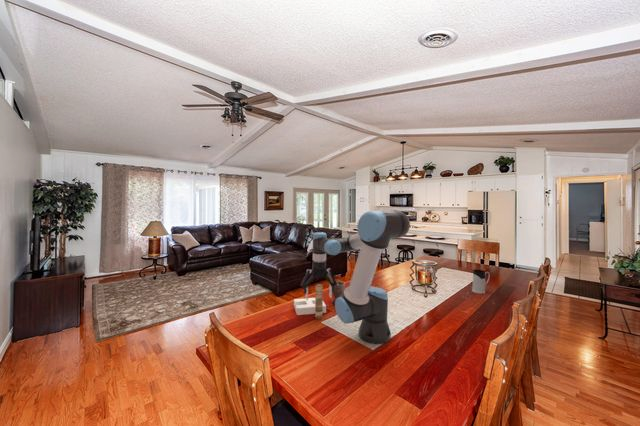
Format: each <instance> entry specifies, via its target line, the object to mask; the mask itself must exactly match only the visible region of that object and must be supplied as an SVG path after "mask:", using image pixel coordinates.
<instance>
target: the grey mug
mask: <svg viewBox="0 0 640 426" xmlns="http://www.w3.org/2000/svg"><path fill="white" fill-rule="evenodd" d="M487 273H488V278H487V281H486V276H487V275H486V274H487ZM490 274H491V273H490V272H489V271H485V270H481V269H473V273H472V288H471V292H473V293H475V294H482V293H483V294H486V293H485V292H486V285H487V284H488V283H489V281H490V279H491V278H490V277H491V275H490Z"/></svg>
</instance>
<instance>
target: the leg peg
mask: <svg viewBox="0 0 640 426" xmlns="http://www.w3.org/2000/svg"><path fill="white" fill-rule="evenodd" d="M323 289H324V285H323V284H315V297H314V298H315V315H314V316H315V319H317V320H318V319H319V320H321V319H322V318H323V313H322V310H323V302H324V299H323V295H324V293H323V292H324V290H323Z"/></svg>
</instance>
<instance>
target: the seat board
mask: <svg viewBox="0 0 640 426" xmlns="http://www.w3.org/2000/svg"><path fill="white" fill-rule="evenodd" d="M293 307H294V310H295V313H296V315H297V316H303V315H314V314H315V297H308V300H306V297H305V298H294V299H293ZM326 313H327V305H326V303H325V302H324V301H323V310H322V314H326Z"/></svg>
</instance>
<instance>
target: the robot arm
mask: <svg viewBox="0 0 640 426" xmlns="http://www.w3.org/2000/svg"><path fill="white" fill-rule="evenodd" d="M356 228H357V233H354V234H353V235H350V236H348V237H340V238H339V237H338V238H328V237H327V235H328V234H327V233H326V232H322V231H321V232H319V231H318V232H314V233H313V234H312V265H311V266H312V267H311V268H312V269H306V273H305V275H304V277H303V279H302V280H301V283H300V287H301V288H303V293H304V294H305V298H306V300H308V298H309V287H308V286H309V285H310V284H311V283H312V282H313V280H314V279H316V278H321V279H322V278H325V280H327V282H328V284H329V290H328V291H329V293H328V297H329V298H330V299H332V298H333V297H332V295H333V293H332V292H333V291H334V285H337V283H336V278H335V276H334V274H333V272H332V269H331V268H330V267H329V268H327V255H330V256H336V255H338V254H340V253H347V252H357V251H359V253H358V255H357V259H356V263H355V266H354V270H353V273H352V275H351V278H350V281H349V285H348V286H346V287H345V290H344V293H343V296H342V297H339V298H337V299H336V301H335V305H334V307H335V308H334V309H335V311H336V315H337V317H338V319H339V320H340V321H341V322H342V323H343V324H354V323H357V322H360V321H361V322H360V325H359V328H358V336H359V338H361V340H363V341H364V342H367V343H370V344H379V345H380V344H385V343H388V342H390V340H391V336H392V335H391V334H392V333H391V329H390V327H389V323H388V305H389V302H388V301H389V298H388V297H389V296H388V292H387V290H385V289H383V288H381V287H377V286H372V282H373V279H374V275H375V273H376V269H377V266H378V265H379V261H380V259H381V255H382V252H383V251H384V250H386V249H388V247H389V244H390V241H391V240H395V239H399V238H403V237H405V236H406V235H407V234H408V233H409V231H410V228H411V221H410V219H409V217H408V216H407V214H405V213H404V212H403V211H400V210H398V209H396V210H395V209H393V210H392V209H391V210H389V209H388V210H379V209H377V210H376V209H374V210H370V211H366V212H364V213H363V214H362V215H360V217H359V219H358V222H357V227H356ZM311 273H312V274H311ZM326 273H327V274H328V273H329V274H330V276H331V278H332V280H333V282H334V283H332V282H331V280H330V279H329V278H328V277H327V274H326ZM310 274H311V276H310Z"/></svg>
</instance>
